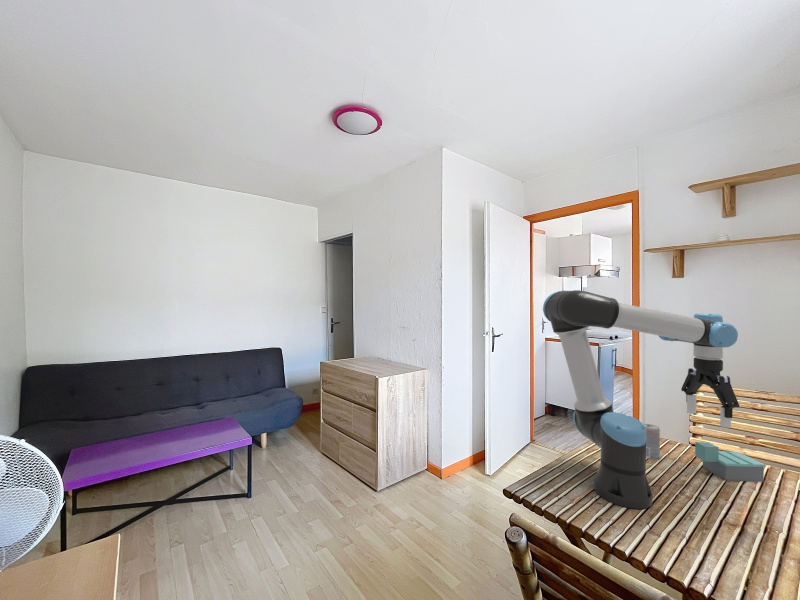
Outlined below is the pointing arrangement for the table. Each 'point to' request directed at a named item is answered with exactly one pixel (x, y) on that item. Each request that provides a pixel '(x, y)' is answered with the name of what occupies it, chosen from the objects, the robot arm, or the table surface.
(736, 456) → the lid
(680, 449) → the table surface
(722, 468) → the tub
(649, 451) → the energy drink
